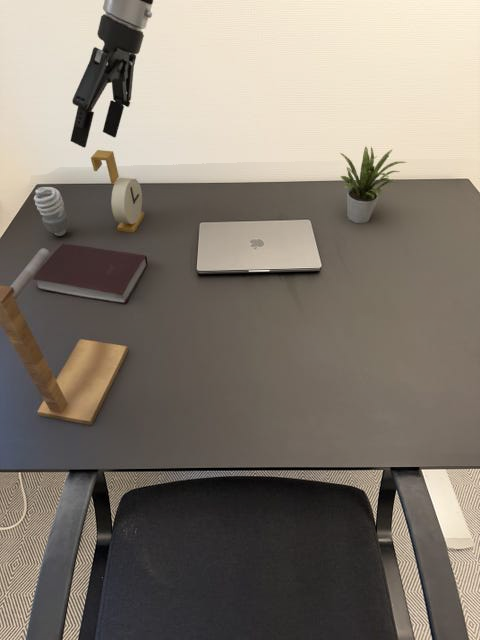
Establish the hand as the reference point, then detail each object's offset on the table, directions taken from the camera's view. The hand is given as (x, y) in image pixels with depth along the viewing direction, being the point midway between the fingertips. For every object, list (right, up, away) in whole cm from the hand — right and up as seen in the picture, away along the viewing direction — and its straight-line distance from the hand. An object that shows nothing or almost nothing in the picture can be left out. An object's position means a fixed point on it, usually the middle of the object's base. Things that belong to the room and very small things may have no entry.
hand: (94, 139), depth 92 cm
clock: (+2, -13, +18) cm, 22 cm away
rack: (+3, -46, -14) cm, 48 cm away
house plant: (+58, -12, +18) cm, 62 cm away
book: (-1, -27, +5) cm, 27 cm away
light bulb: (-12, -16, +15) cm, 26 cm away
